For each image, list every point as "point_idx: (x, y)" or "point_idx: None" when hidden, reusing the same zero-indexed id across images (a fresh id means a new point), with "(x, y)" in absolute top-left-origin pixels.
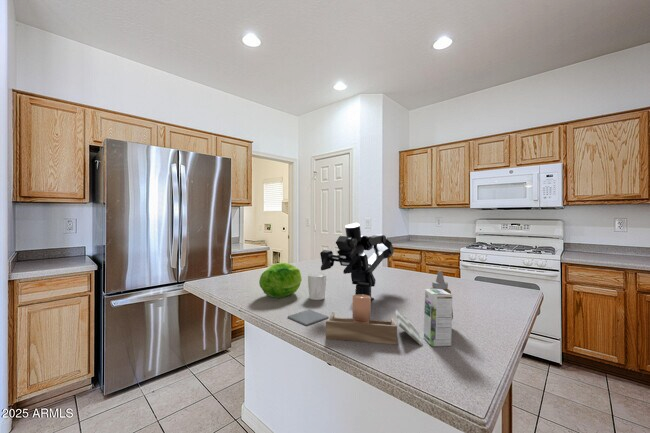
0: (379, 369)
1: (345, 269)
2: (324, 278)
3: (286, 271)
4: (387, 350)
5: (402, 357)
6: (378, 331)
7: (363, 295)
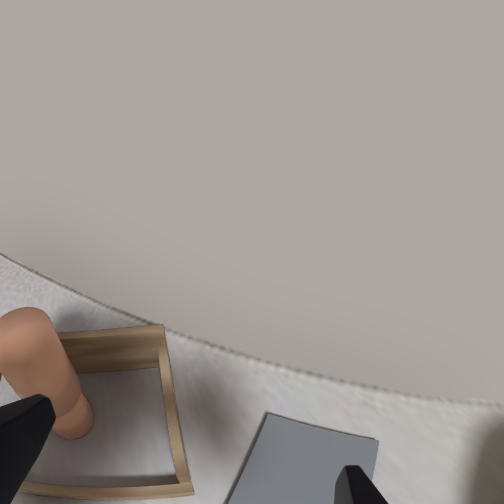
0: (56, 287)
1: (22, 400)
2: None
3: None
4: None
5: None
6: None
7: (6, 350)
